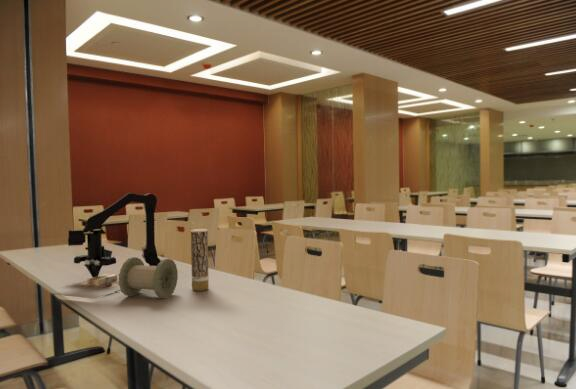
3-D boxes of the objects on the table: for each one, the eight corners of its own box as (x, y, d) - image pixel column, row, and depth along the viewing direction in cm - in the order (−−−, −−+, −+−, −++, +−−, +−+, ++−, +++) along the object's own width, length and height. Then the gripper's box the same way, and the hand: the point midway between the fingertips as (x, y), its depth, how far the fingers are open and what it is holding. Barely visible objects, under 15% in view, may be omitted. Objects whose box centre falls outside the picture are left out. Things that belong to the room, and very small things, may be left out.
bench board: (132, 283, 191) (132, 272, 190) (108, 292, 177) (107, 280, 176) (97, 280, 197) (97, 269, 197) (71, 288, 183) (70, 276, 183)
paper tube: (204, 291, 175) (203, 231, 174) (189, 291, 176) (188, 230, 175) (211, 287, 182) (210, 229, 181) (196, 287, 183) (194, 228, 182)
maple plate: (117, 280, 191) (116, 274, 191) (98, 286, 181) (98, 280, 180) (106, 279, 193) (106, 273, 193) (87, 285, 183) (87, 279, 183)
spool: (177, 292, 175) (177, 256, 174) (157, 303, 160) (156, 263, 160) (142, 290, 179) (141, 254, 179) (119, 300, 165) (118, 261, 164)
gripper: (124, 242, 192) (125, 277, 193) (92, 240, 198) (92, 274, 199) (106, 246, 182) (107, 282, 182) (72, 244, 188) (73, 279, 189)
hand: (95, 279), depth 188 cm, fingers closed
